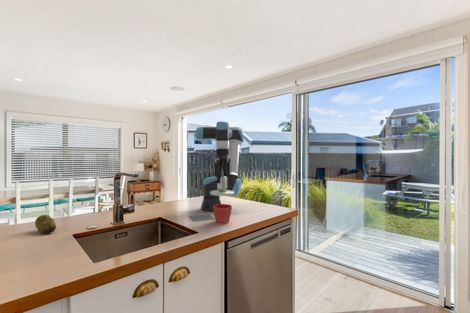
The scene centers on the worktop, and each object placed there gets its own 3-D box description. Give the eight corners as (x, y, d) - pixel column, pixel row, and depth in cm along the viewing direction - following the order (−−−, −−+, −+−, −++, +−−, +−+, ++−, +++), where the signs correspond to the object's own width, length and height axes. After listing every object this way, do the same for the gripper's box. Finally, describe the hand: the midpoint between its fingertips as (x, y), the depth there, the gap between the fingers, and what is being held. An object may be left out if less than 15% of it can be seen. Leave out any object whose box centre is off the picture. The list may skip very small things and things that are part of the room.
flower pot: (229, 225, 141) (229, 208, 141) (210, 224, 143) (210, 207, 143) (233, 220, 151) (233, 204, 151) (215, 219, 153) (216, 203, 153)
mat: (188, 216, 160) (188, 215, 160) (209, 214, 165) (209, 213, 165) (193, 222, 147) (193, 221, 147) (215, 220, 152) (215, 219, 152)
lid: (207, 192, 150) (207, 175, 150) (229, 191, 155) (229, 174, 155) (214, 196, 137) (214, 177, 137) (237, 195, 142) (237, 177, 142)
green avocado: (35, 237, 120) (35, 220, 120) (35, 230, 130) (34, 215, 130) (56, 233, 126) (56, 217, 125) (54, 227, 136) (54, 212, 135)
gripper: (226, 148, 155) (225, 186, 156) (207, 148, 141) (207, 189, 141) (236, 148, 151) (235, 187, 152) (218, 148, 137) (218, 190, 137)
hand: (222, 188), depth 146 cm, fingers closed on lid, 4 cm apart
